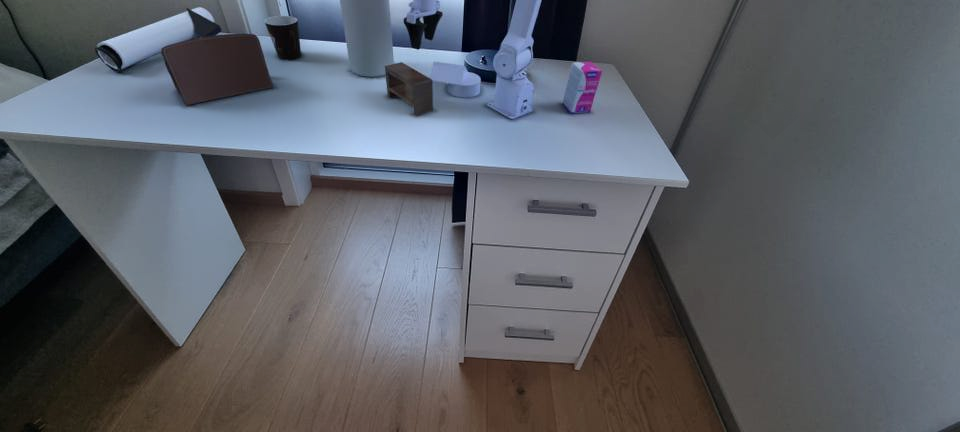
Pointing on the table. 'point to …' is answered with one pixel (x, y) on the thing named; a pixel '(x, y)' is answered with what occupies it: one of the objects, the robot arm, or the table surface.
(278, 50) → the coffee mug
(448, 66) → the wedge on round base
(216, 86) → the letter holder
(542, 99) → the table surface
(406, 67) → the walnut stand
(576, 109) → the supplement box
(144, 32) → the diploma
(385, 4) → the cylinder vase
